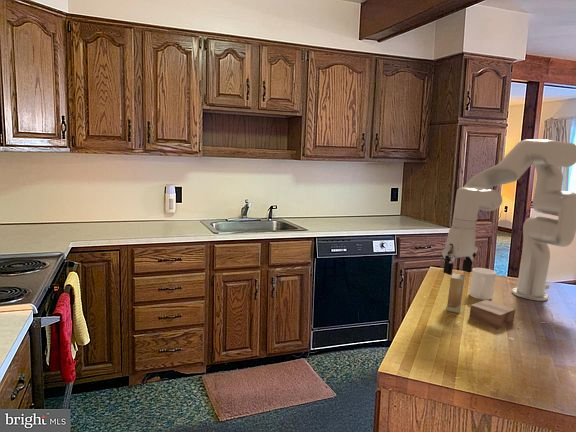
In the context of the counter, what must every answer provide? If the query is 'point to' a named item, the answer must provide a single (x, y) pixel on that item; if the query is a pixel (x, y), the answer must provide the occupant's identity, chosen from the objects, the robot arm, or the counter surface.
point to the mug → (482, 283)
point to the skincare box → (455, 292)
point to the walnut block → (492, 314)
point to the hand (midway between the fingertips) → (457, 272)
